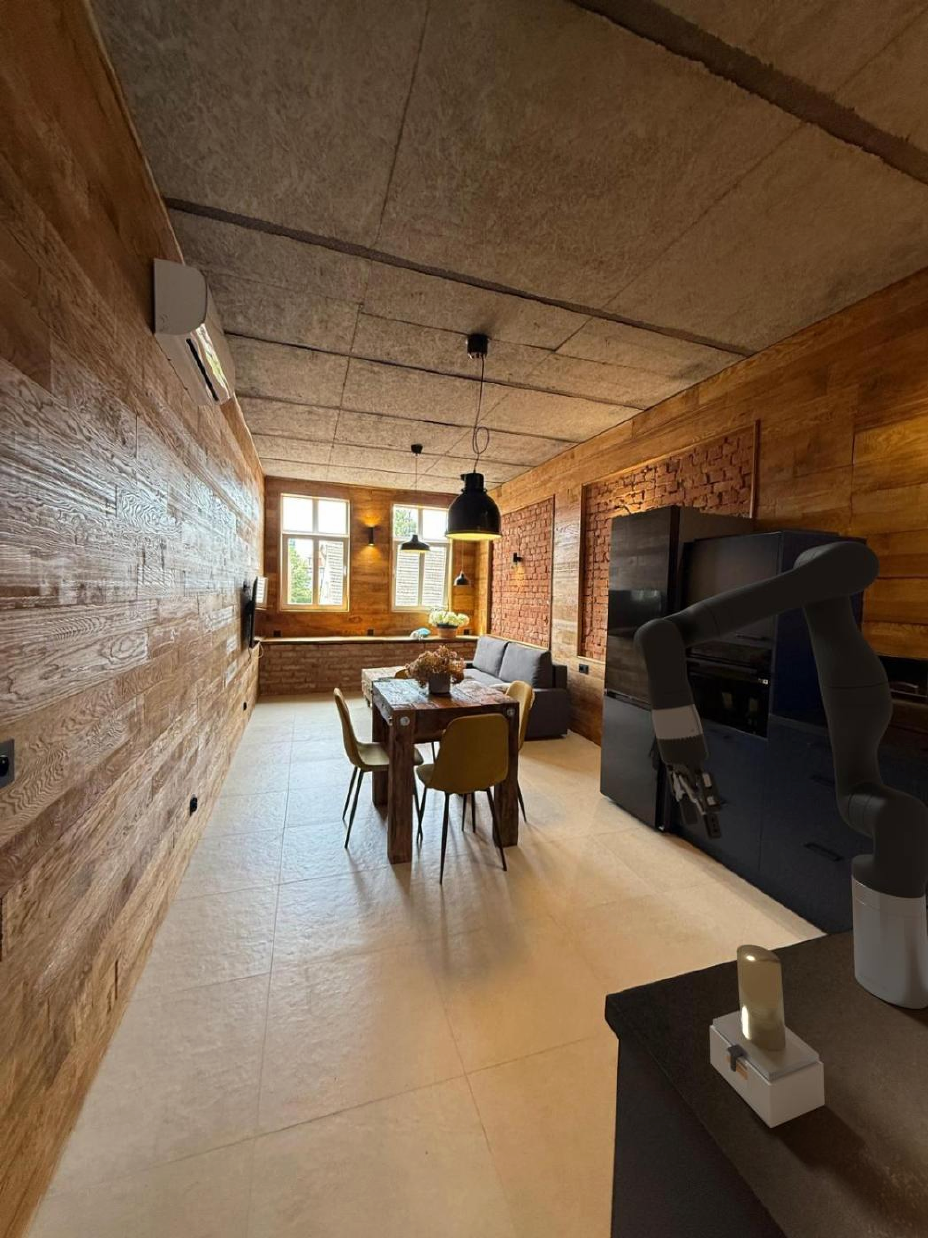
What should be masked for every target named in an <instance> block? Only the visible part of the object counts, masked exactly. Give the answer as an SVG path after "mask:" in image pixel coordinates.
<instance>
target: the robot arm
mask: <svg viewBox="0 0 928 1238" xmlns="http://www.w3.org/2000/svg"><path fill="white" fill-rule="evenodd" d="M880 569H881V565H880V559H879V557H878V554H876V552H875V551H874V550H873V549H872V548H871V547H870V546H868V545H866V544H864V543H862V542H856V541H849V540H848V541H844V540H843V541H836V542H831V543H827V544H824V545H819V546H816V547H811V548H809V549H807V550H805V551H803V552H802V553H800V554H799V556H798V557H797V559H796V560H795V562H794V564H793V568H791V569H790V570H787V571H785V572H782V573H779V574H777V575H774V576H771V577H770V578H765V579H763V580H762V579H761V580H759V581H756V582H753V583H749V584H745V585H743V586H739V587H736V588H732V589H729V590H727V591H724V592H721V593H718V594H716V595H713V596H711V597H709V598H705V599H704V600H701V601H699V602H697V603H694V604H692V605H690V606H688V607H686V608H685V609H683V610H681V611H679V612H677V613H673V614H670V615H668V616H665V617H662V618H654V619H651V620H649V621H647V622H645V623H644V624H643V625H641V626H640V627H639V628H638V629H637V630H636V632H635V633H634V637H633V646H634V649H635V651H636V653H637V654H638V655H639V656H640V657H641V658H643V660H644V664H645V669H646V672H647V680H646V690H647V695H648V700H649V704H650V708H651V714H652V723H653V727H654V728H653V729H654V732H655V737H656V741H657V745H658V750H659V754H660V758H661V761H662V763H664V764H665V768H666V772H667V778H668V781H669V787H670V793H671V795H672V796H673V797H675V799H676V801H677V802H679V807H680V811H681V815H682V820H683V823H684V824H686V825H688V826H689V825H694V824H695V825H696V824H698V822H699V820H698V816H697V812H696V808H695V806H697V808H698V810H699V813H700V817H701V820H702V821H701V822H702V825H703V829H704V834H705V836H706V838H707V839H709V840H716V839H721V838H722V835H723V834H722V831H721V827H720V823H719V818H718V813H721V812H724V809H723V805H722V801H721V797H720V793H719V789H718V786H717V782H716V779H715V776H714V773H713V772H712V771H709V772H704V770H703V767H702V765H701V764H702V762H704V761H706V760H707V759H709V751H708V747H707V742H706V739H705V735H704V732H703V728H702V727H703V726H702V723H701V719H700V715H699V713H698V711H697V708H696V705H695V701H694V697H693V693H692V690H691V686H690V683H689V679H688V672H687V671H688V669H687V657H686V656H687V655H686V649H688V648H691V647H693V646H695V645H698V644H703V643H707V642H710V641H713V640H716V639H720V638H722V637H724V636H727V635H730V634H732V633H734V632H737V631H739V630H742V629H744V628H747V627H749V626H753V625H755V624H757V623H759V622H761V621H764V620H767V619H770V618H772V617H775V616H777V615H780V614H782V613H786V612H788V611H791V610H794V609H798V608H800V607H801V608H802V611H803V613H804V617H805V620H806V624H807V627H808V631H809V632H808V633H809V636H810V642H811V646H812V652H813V657H814V660H815V665H816V670H817V676H818V683H819V689H820V694H821V700H822V704H823V708H824V712H825V717H826V721H827V726H828V727H827V728H828V732H829V738H830V746H831V749H832V755H833V756H832V757H833V768H834V783H835V794H836V796H835V797H836V803H837V808H838V811H839V814H840V817H841V818H842V820H843V821H844V822H845V823H846V824H847V826H848V827H850V828H851V829H853V830H854V831H856V832H858V833H860V834H862V835H864V836H866V837H867V838H870V839H872V840H873V852H872V854H860V855H855V856H854V857H853V858H852V859H851V866H850V867H851V869H850V870H851V892H852V920H853V921H852V922H853V923H852V926H853V956H854V957H853V958H854V961H853V962H854V976H855V979H856V980H857V983H859V985H861V987H863V989H865V990H866V991H867V992H869V993H871V995H874V996H876V997H877V998H879V999H881V1000H883V1001H885V1002H888V1003H889V1004H893V1005H895V1006H898V1007H901V1008H907V1009H917V1010H919V1009H924V1008H927V1007H928V928H927V927H928V926H927V925H928V924H927V905H926V904H927V903H926V902H927V901H926V885H927V883H928V808H927V806H926V805H925V803H924V802H923V801H922V800H920V799H919V798H917V797H916V796H913V795H912V794H909V793H907V792H904V791H901V790H898V789H895V788H892V787H890V786H886V785H885V784H884V782H883V780H882V776H881V773H880V767H879V761H878V748H879V744H880V742H881V740H882V738H883V736H884V734H885V732H886V730H887V728H888V727H889V724H890V722H891V719H892V716H893V711H894V706H893V699H892V695H891V689H890V684H889V678H888V675H887V672H886V669H885V667H884V665H883V662H882V661H881V660H880V658H879V656H878V655H877V653H876V651H875V650H874V648H873V647H872V646H871V644H870V643H869V642H868V641H867V639H866V637H865V636H864V635H863V633H862V632H861V630H860V629H859V626H858V625H857V622H856V620H855V617H854V614H853V610H852V603H851V598H850V596H853V595H856V594H860V593H861V592H863V591H865V590H866V589H868V588H869V587H870V586H871V585H873V583H874V582H875V581H876V580H877V578H878V575H879V573H880Z"/></svg>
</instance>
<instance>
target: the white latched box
mask: <svg viewBox="0 0 928 1238" xmlns="http://www.w3.org/2000/svg"><path fill="white" fill-rule="evenodd" d="M709 1046H710V1047H709V1051H710V1052H709V1053H710V1055H709V1058H710V1064H711V1065H712V1066H713V1067H714V1069H716V1071H717V1072H718V1073H719V1074H720V1075H721V1076H722V1077H723V1078H724V1079H725V1080H726V1081H727V1082H728V1084H729V1085H730V1086H731V1087H732V1088H733V1089H734V1090H735V1091H736V1093H737V1094H738V1095H740V1097H742V1099H743V1100H744V1101H745V1102H746V1103H747V1104H748V1106H749V1107H751V1109H752V1110H753V1111H754V1112H755V1113H756V1114H757V1116H758V1117H760V1118H761V1120H762V1121H763V1122H764V1123H765V1124H766V1125H767V1126H768V1127H769V1128H770V1129H772V1128H775V1127H776V1126H779V1125H781V1124H784V1123H785V1122H788V1121H792V1120H793V1119H795V1118H798V1117H799V1116H802V1115H805V1114H806V1113H808V1112H812V1111H814V1110H815V1109H817V1108H821V1107H822V1106H825V1075H824V1074H825V1073H824V1072H825V1071H824V1063H823V1062H822V1061H820V1060H819V1061H817V1062H814V1063H812V1064H809V1065H807V1066H804V1067H802V1068H799V1069H797V1070H794V1071H792V1072H789V1073H786V1074H784V1075H781V1076H779V1077H776V1078H774V1079H771V1080H768V1079H767V1078H766V1077H765V1076H764V1075H763V1074H762V1073H761V1072H760V1071H759V1070H758V1069H757V1068H756V1067H755V1066H754V1065H753V1064H752V1063H751V1062H750V1061H749V1060H748V1059H747V1058H746V1057H745V1056H744V1055H743V1056H741V1057H739V1058H736V1072H733V1071H732V1070H731V1067H730V1052H729V1051H728V1047H731V1046H733V1044H732V1043H731V1042H730V1041H729V1040H728V1039H727V1038H726V1037H724V1036H723V1035H722V1034H721V1033H720V1032H719V1031H718V1030H717V1029H716V1028H715V1027H714V1026H713V1024H711V1025H709Z"/></svg>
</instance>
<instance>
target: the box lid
mask: <svg viewBox="0 0 928 1238" xmlns="http://www.w3.org/2000/svg"><path fill="white" fill-rule="evenodd" d="M712 1025H713V1026H714V1027H715V1028H716V1029H717V1030H718V1031H719V1032H720V1033H721V1034H722V1035H723V1036H724V1037H726V1038H727V1039H728V1040H729V1041H730V1042H731V1043H732V1044H733V1046H731V1047H728V1051H729V1052H730V1067H731V1070H732V1071H733V1072H736V1058H739V1057H741V1056H743V1055H744V1056H745V1057H746V1058H747V1059H748V1060H749V1061H750V1062H751V1063H752V1064H753V1065H754V1066H755V1067H756V1068H757V1069H758V1070H759V1071H760V1072H761V1073H762V1074H763V1075H764V1076H765V1077H766V1078H767V1079H768V1080H771V1079H774V1078H776V1077H779V1076H781V1075H784V1074H786V1073H789V1072H792V1071H794V1070H797V1069H799V1068H802V1067H804V1066H807V1065H809V1064H812V1063H814V1062H817V1061H820V1053H818V1052H817V1051H816V1050H815V1049H813V1048H812V1047H811V1046H810V1045H809V1044H808V1043H807V1042H806V1041H804V1040H802V1038H800V1037H799V1036H798V1035H797V1034H796V1033H795V1032H793V1031H792V1030H790V1028H789V1027H788V1026H786V1025H785V1039H786V1044H785V1046H784V1047H783V1048H782V1049H780V1050H768V1049H764V1048H762V1047H759V1046H757V1045H756V1044H754V1043H752V1042H751V1041H750V1040H749V1039H748V1038H747V1037H746V1036H745V1035H744V1033H743V1032H742V1029H741V1015H740V1010H737V1011H733V1012H731V1013H728V1014H726V1015H721V1016H719V1017H716V1018H713V1019H712Z"/></svg>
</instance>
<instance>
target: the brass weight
mask: <svg viewBox="0 0 928 1238" xmlns="http://www.w3.org/2000/svg"><path fill="white" fill-rule="evenodd" d="M736 963H737V977H738V978H737V980H738V995H739V998H738V999H739V1009H740V1010H739V1011H740V1015H741V1029H742V1032H743V1033H744V1035H745V1036H746V1037H747V1038H748V1039H749V1040H750V1041H751V1042H752V1043H754V1044H756V1045H757V1046H759V1047H762V1048H764V1049H768V1050H780V1049H782V1048H783V1047H784V1046H785V1044H786V1039H785V1026H786V1025H785V1011H784V1010H785V1009H784V996H783V995H784V994H783V993H784V992H783V979H782V966H781V965H782V963H781V959H780V958H779V957H778V956H777V954H775V953H774V952H772V950H770V949H767V948H765V947H763V946H760V945H756V944H755V945H754V944H743V945H739V946H738V947H737V949H736Z"/></svg>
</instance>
